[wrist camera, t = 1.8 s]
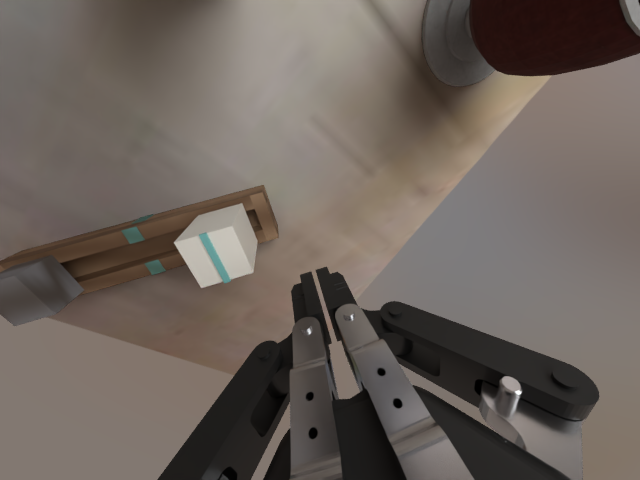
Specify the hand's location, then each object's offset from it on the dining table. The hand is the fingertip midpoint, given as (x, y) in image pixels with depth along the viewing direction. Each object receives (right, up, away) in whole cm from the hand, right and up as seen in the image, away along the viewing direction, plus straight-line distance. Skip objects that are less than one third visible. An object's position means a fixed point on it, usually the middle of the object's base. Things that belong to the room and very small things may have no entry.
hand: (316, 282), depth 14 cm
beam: (-21, +3, +16) cm, 26 cm away
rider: (-11, +5, +14) cm, 19 cm away
